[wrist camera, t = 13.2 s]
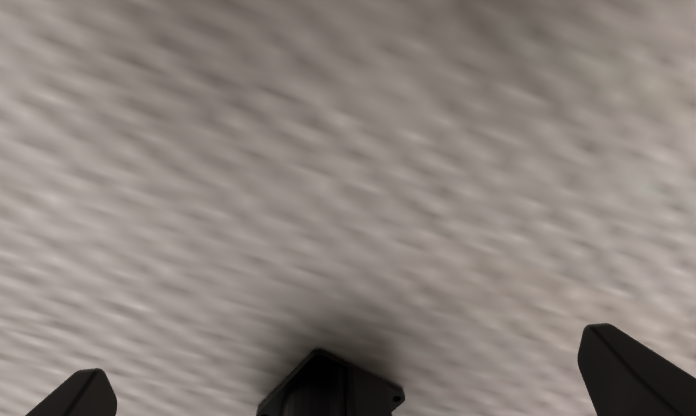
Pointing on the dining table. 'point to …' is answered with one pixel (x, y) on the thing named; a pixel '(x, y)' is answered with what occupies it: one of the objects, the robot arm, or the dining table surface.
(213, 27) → the dining table surface
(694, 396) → the robot arm
